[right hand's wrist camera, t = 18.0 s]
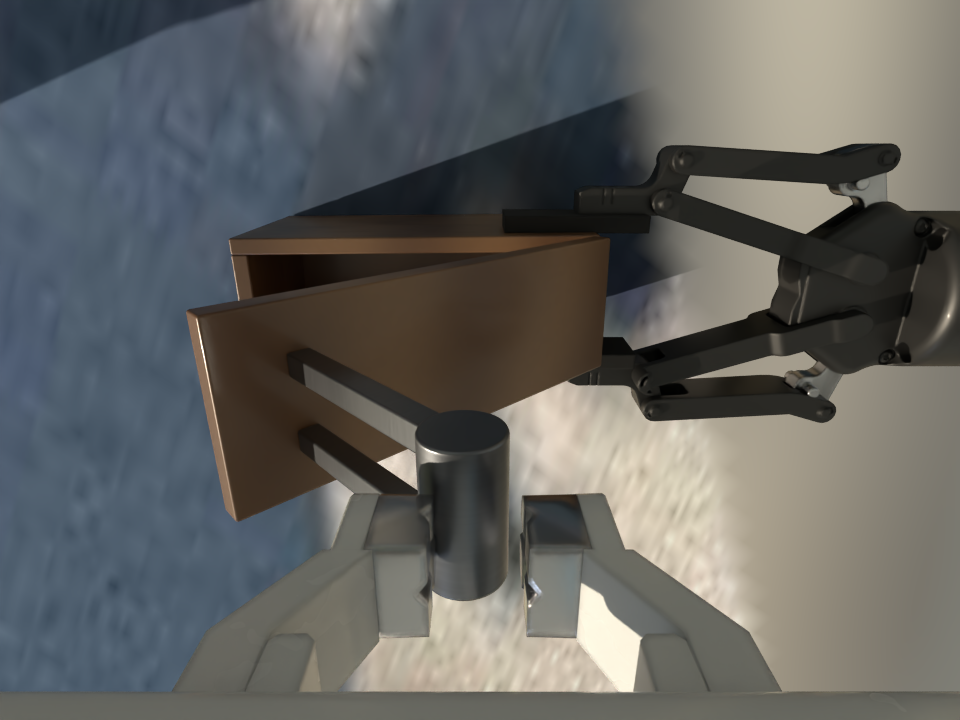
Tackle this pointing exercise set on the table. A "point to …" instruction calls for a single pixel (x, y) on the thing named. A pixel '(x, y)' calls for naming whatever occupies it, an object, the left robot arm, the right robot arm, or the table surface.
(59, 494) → the table surface
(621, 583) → the right robot arm
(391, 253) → the chest
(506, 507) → the lid
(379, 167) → the table surface
